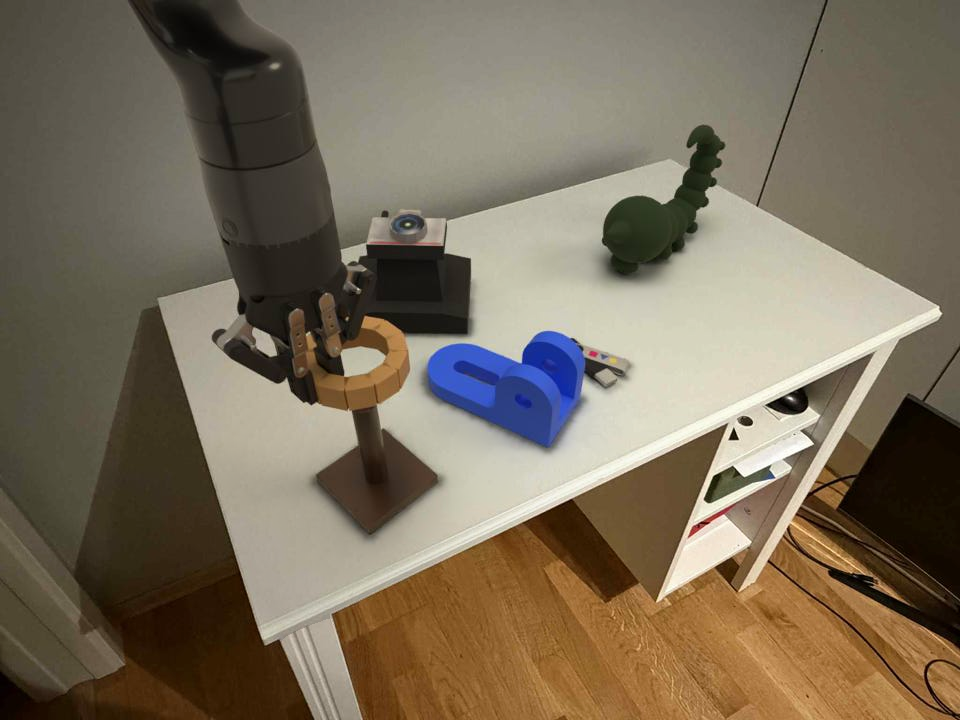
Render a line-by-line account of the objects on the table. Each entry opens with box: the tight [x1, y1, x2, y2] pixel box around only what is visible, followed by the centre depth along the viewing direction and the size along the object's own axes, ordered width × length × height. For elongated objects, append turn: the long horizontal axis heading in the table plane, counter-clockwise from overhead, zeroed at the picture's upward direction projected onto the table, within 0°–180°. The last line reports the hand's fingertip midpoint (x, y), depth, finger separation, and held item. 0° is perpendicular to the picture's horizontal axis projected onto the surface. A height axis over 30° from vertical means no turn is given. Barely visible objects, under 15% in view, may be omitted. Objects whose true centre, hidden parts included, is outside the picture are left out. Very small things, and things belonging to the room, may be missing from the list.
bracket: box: [427, 330, 586, 448], centre depth 73 cm, size 18×8×9 cm, turn 59°
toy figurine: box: [601, 124, 726, 275], centre depth 92 cm, size 9×19×25 cm
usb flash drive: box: [569, 337, 630, 388], centre depth 80 cm, size 9×5×1 cm, turn 33°
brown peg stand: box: [315, 405, 439, 535], centre depth 63 cm, size 9×9×12 cm
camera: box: [347, 209, 472, 335], centre depth 84 cm, size 16×14×15 cm
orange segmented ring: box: [306, 316, 411, 412], centre depth 55 cm, size 9×9×2 cm
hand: (319, 390), depth 54 cm, fingers closed on orange segmented ring, 1 cm apart
